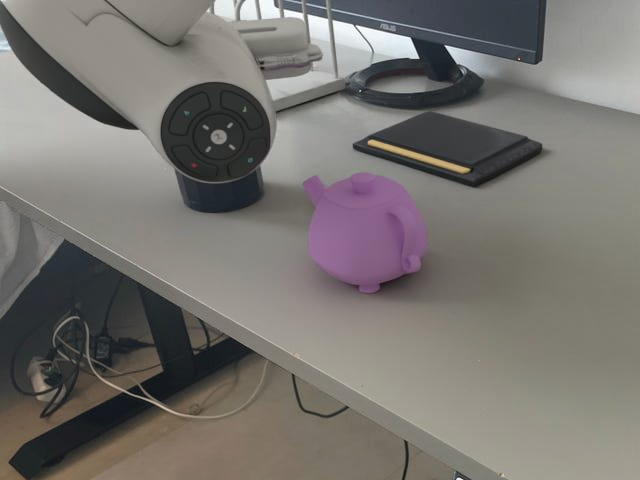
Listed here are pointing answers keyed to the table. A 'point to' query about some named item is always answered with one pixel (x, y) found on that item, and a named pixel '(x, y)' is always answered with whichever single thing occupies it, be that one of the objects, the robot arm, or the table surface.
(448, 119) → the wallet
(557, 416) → the table surface
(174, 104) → the robot arm
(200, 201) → the navy pen holder
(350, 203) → the teapot
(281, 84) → the file sorter
